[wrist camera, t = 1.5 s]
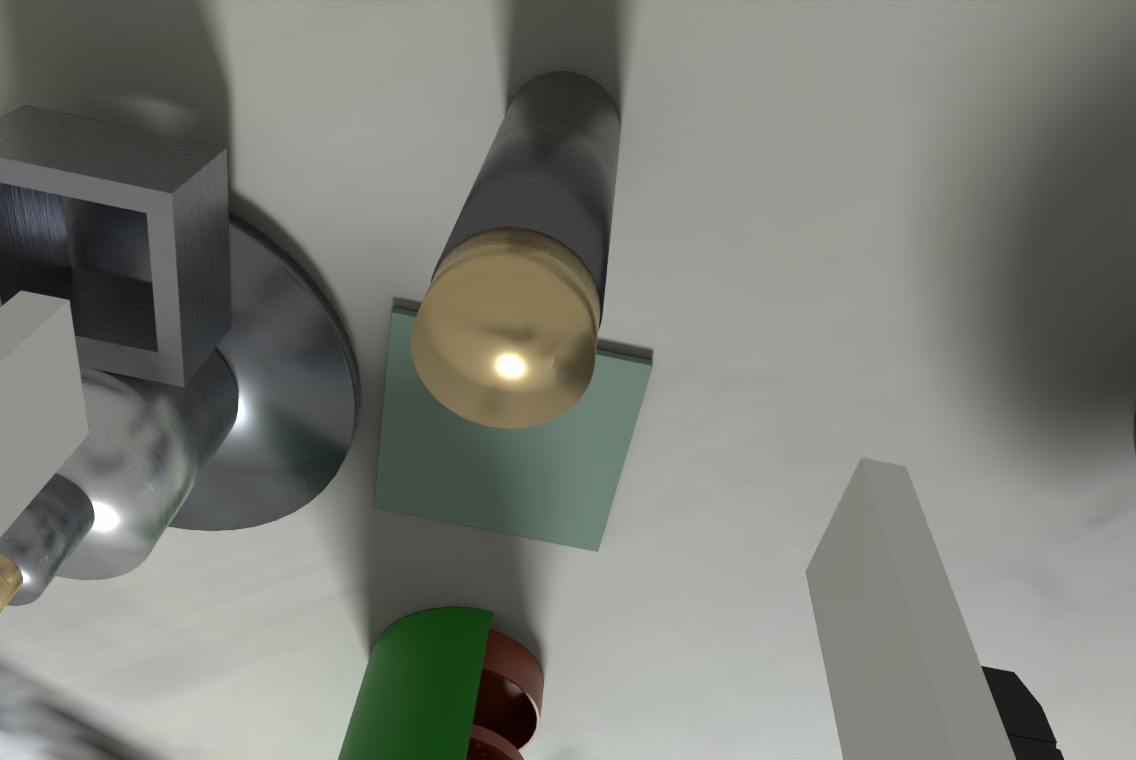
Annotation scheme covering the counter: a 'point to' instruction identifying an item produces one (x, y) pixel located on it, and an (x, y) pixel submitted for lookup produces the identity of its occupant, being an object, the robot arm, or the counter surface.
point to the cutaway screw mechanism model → (445, 692)
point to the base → (251, 370)
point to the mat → (507, 454)
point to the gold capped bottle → (526, 262)
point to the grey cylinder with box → (119, 338)
